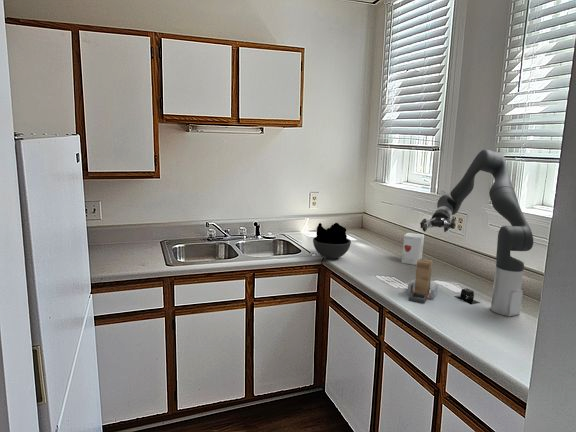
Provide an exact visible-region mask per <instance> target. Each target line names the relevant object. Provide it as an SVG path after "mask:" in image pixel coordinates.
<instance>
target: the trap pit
mask: <svg viewBox="0 0 576 432" xmlns="http://www.w3.org/2000/svg"><path fill="white" fill-rule="evenodd" d="M427 297H428V295H423V294H418V293H412V294H411V295H409V296H408V301H411V302H413V303H414V302H415V303H417V304H418V303H419V304H423V305H425V303H426V302H427V300H428V299H427Z"/></svg>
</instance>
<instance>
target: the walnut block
mask: <svg viewBox="0 0 576 432" xmlns="http://www.w3.org/2000/svg"><path fill="white" fill-rule="evenodd" d="M432 268H433V260H430V259H424V258H422V259H419V260H418V261H417V265H416V271H415V272H416V273H415V279H414V280H415V289H414V290H415V291H414V293H418V294H423V295H428V294H429V293H430V291H431V278H432Z"/></svg>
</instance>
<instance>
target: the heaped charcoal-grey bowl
mask: <svg viewBox="0 0 576 432" xmlns="http://www.w3.org/2000/svg"><path fill="white" fill-rule="evenodd" d="M346 232H347V228H346V227H344V226H342V225H340V223H338V222H335V223H333V224H331V226H330V227H327V228H324V226H323V225H322V223H321V222H319V223H318V225H317V227H316V236H315V237H313V238H312V243H313V247H314V249H315V251H316V252H317V253H318V254H319V255H320V256H321V257H324V258H326V259H330V260H335V259H338V258H341V257H343V256H344V255H345V254H347V252H348V251H349V249H350V246H351V245H352V244H351V243H352V240H350V239H349V238H347V237H348V235H347V233H346Z"/></svg>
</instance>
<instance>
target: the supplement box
mask: <svg viewBox="0 0 576 432" xmlns="http://www.w3.org/2000/svg"><path fill="white" fill-rule="evenodd" d="M424 238H425V234H423V233H422V234H421V233H415V232H406V234H404V235H403V243H402V253H401V254H402V255H401V263H402V264H408V265H413V266H417V261H418V260H419V259H423V250H424V249H423V248H424V242H425V241H424V240H425V239H424Z"/></svg>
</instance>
